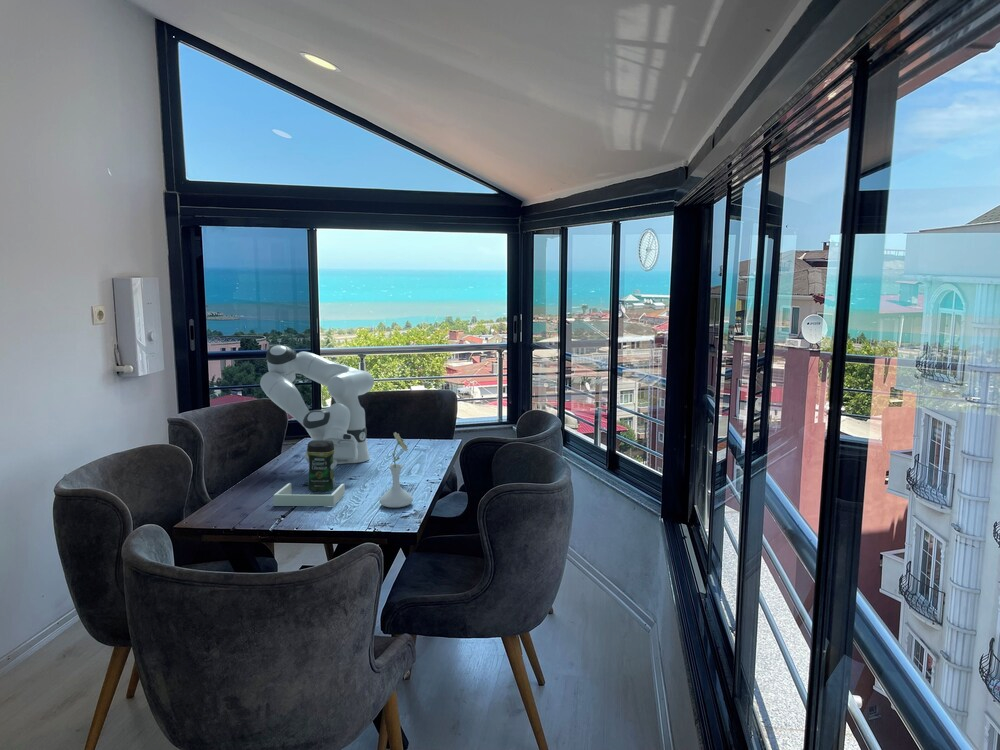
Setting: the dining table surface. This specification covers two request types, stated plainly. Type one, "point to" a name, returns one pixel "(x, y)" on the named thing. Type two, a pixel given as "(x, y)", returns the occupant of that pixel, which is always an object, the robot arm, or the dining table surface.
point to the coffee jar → (321, 465)
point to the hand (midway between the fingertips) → (328, 471)
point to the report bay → (306, 498)
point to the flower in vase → (396, 483)
